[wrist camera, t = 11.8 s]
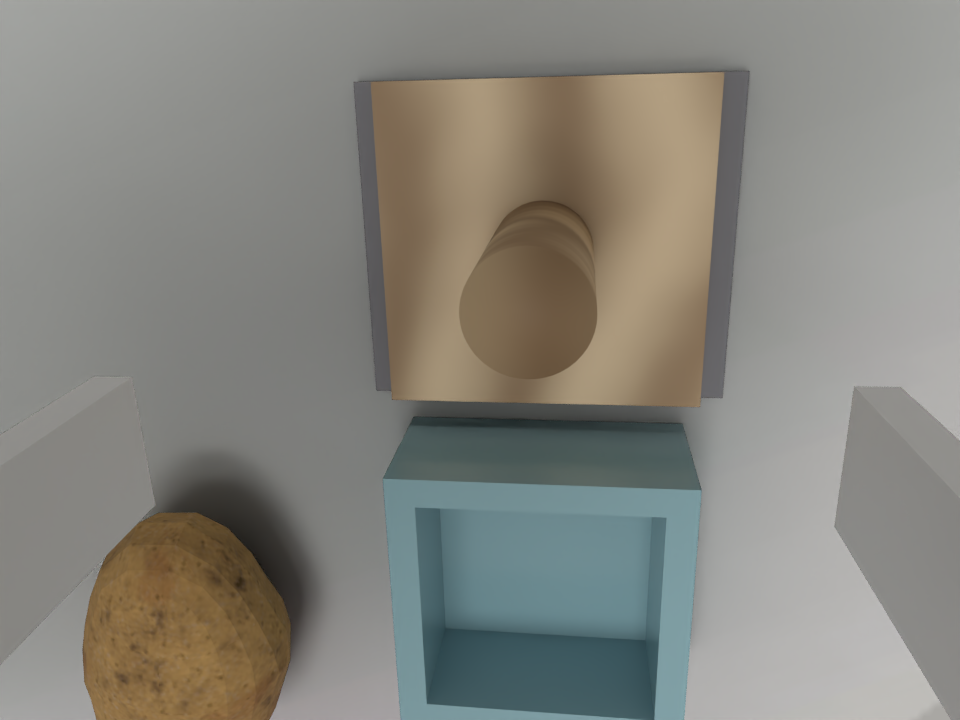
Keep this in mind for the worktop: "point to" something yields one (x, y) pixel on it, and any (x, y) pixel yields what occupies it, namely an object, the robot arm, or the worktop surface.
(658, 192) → the lid
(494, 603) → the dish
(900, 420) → the robot arm
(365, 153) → the mat
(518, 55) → the worktop surface
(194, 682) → the potato
